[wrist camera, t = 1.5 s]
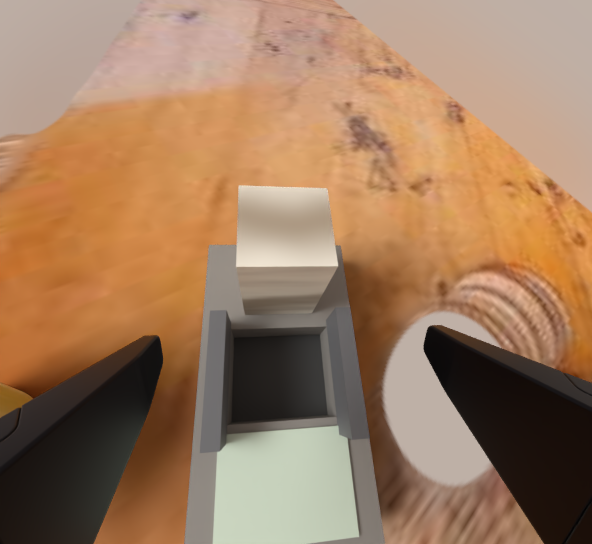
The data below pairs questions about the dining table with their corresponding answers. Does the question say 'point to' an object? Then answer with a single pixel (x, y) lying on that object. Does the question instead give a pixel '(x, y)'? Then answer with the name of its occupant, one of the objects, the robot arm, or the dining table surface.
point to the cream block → (284, 248)
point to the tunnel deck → (279, 422)
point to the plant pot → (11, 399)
